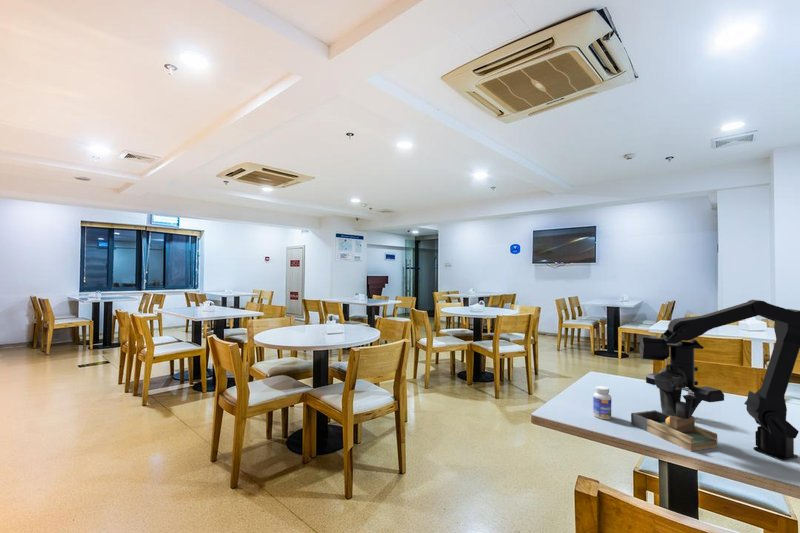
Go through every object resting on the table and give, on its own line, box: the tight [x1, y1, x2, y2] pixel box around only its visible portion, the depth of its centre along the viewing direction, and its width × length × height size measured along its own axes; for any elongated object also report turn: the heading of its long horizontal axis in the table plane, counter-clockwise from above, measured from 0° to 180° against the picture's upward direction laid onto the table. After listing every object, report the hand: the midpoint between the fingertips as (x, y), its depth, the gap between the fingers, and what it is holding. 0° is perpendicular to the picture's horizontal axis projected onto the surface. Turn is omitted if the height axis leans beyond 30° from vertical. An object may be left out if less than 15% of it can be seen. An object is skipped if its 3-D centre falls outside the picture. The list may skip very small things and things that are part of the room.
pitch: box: [646, 419, 718, 452], centre depth 108 cm, size 13×10×4 cm
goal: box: [630, 410, 670, 432], centre depth 117 cm, size 6×10×4 cm, turn 106°
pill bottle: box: [592, 385, 612, 420], centre depth 125 cm, size 5×5×10 cm
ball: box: [666, 416, 671, 428], centre depth 111 cm, size 4×4×4 cm
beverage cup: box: [658, 358, 676, 416], centre depth 128 cm, size 7×7×20 cm
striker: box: [670, 401, 696, 433], centre depth 108 cm, size 3×7×8 cm, turn 106°
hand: (682, 415), depth 108 cm, fingers closed on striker, 3 cm apart
